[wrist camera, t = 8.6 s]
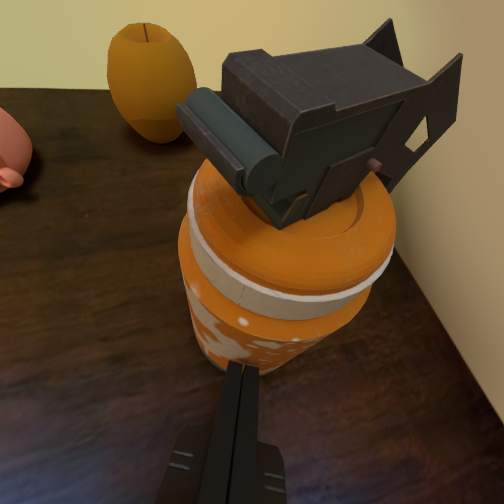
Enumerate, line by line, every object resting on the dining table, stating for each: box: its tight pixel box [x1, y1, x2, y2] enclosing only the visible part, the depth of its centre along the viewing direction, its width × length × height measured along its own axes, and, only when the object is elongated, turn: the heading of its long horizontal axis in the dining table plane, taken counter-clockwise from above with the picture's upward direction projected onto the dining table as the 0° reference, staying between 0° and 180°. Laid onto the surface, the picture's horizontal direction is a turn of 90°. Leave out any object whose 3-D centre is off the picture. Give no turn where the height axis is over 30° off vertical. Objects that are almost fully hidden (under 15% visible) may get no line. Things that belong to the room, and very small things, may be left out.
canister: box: [176, 18, 463, 376], centre depth 14 cm, size 9×11×20 cm
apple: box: [107, 23, 197, 144], centre depth 29 cm, size 10×10×12 cm
